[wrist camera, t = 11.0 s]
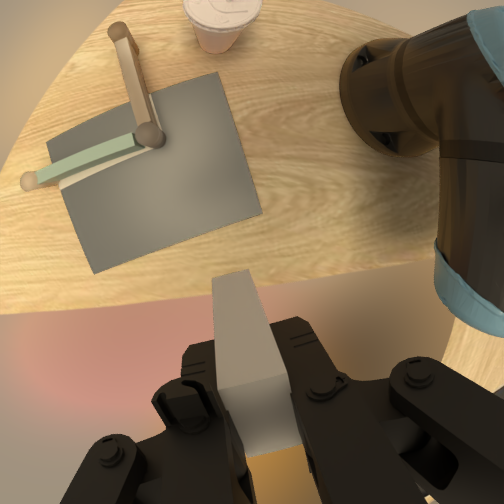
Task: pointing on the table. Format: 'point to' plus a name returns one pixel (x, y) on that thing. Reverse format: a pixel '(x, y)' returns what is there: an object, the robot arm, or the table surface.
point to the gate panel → (80, 162)
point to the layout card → (158, 176)
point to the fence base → (136, 87)
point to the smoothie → (220, 21)
